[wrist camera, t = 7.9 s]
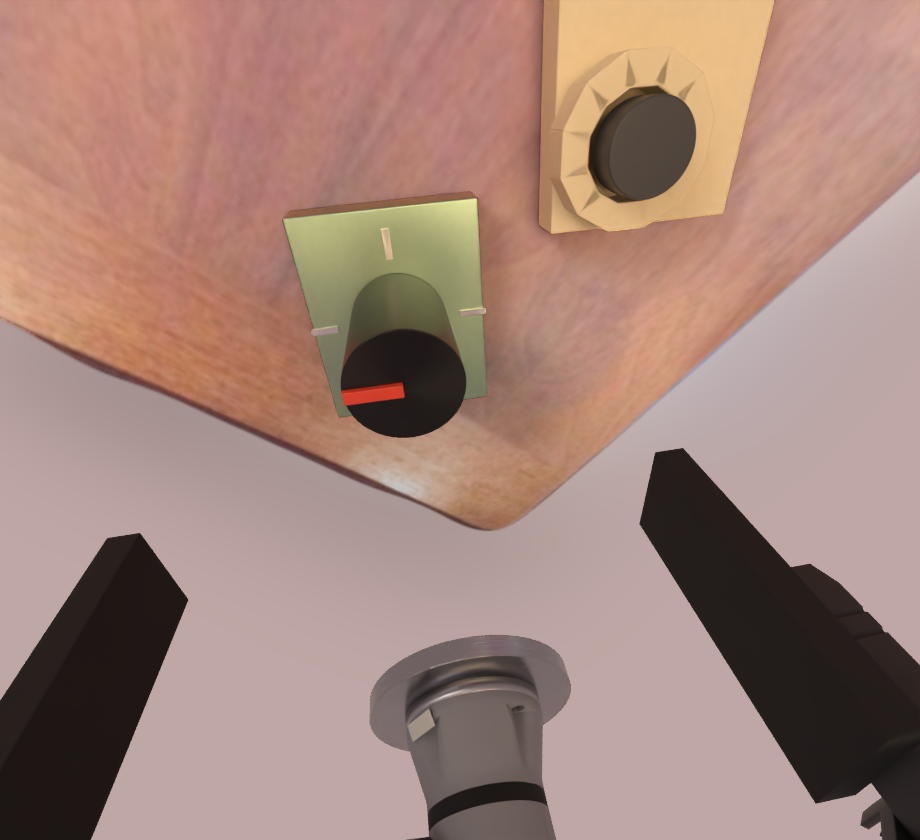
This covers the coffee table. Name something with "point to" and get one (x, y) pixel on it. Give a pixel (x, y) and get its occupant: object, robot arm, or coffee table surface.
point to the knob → (401, 359)
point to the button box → (643, 73)
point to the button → (644, 145)
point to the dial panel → (391, 269)
